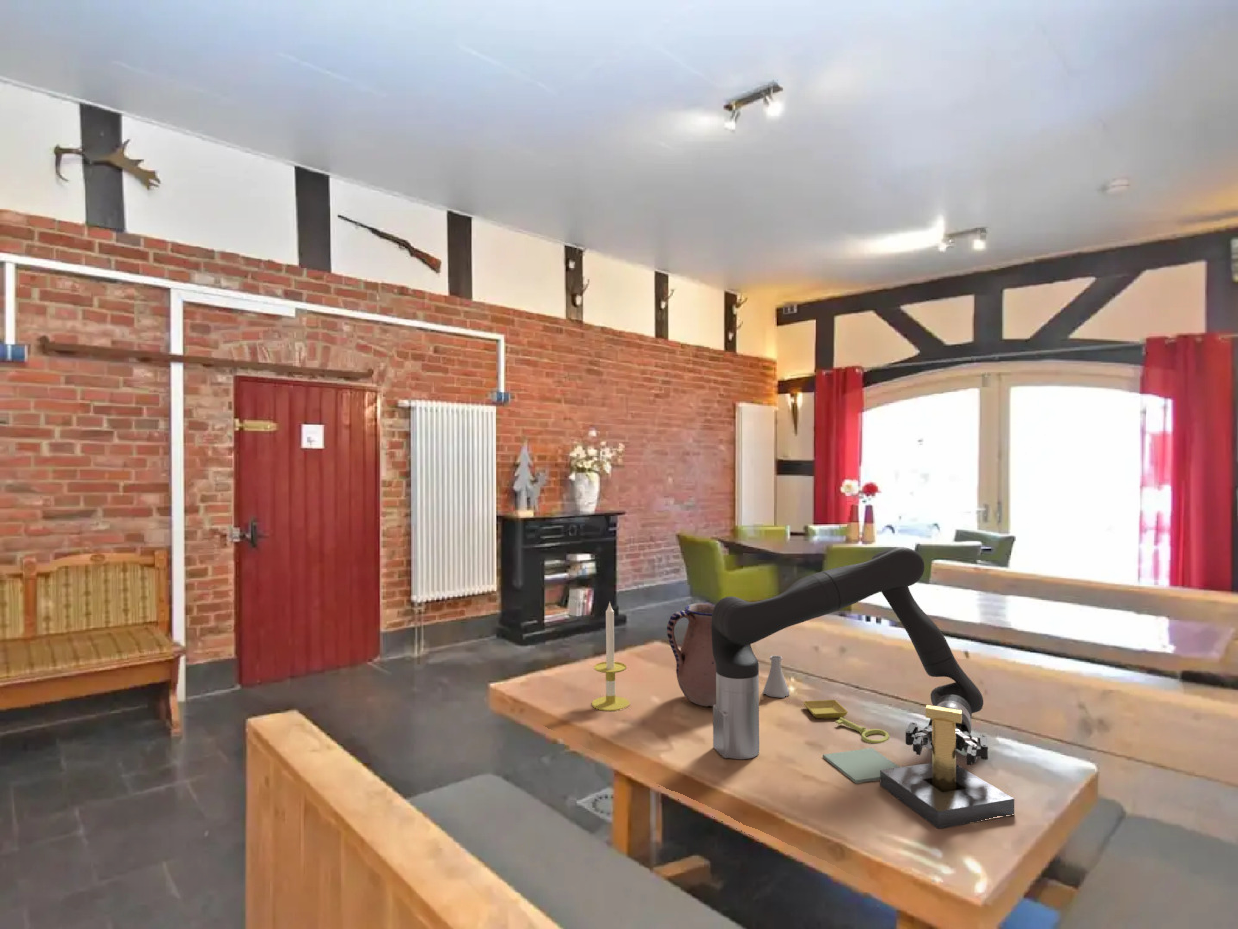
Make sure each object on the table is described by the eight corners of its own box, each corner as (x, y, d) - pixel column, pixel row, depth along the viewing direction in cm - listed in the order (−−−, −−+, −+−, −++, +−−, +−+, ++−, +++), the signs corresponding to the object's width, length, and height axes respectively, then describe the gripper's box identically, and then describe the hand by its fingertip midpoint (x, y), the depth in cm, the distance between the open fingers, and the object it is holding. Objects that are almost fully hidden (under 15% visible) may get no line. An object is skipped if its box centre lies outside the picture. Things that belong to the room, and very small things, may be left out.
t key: (925, 800, 126) (924, 709, 126) (927, 791, 130) (927, 703, 130) (961, 808, 123) (960, 715, 123) (962, 799, 127) (962, 708, 127)
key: (839, 725, 163) (839, 716, 163) (892, 737, 156) (892, 728, 156) (828, 734, 158) (828, 725, 158) (882, 748, 150) (882, 739, 150)
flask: (784, 700, 179) (784, 662, 179) (758, 695, 183) (758, 658, 183) (793, 692, 185) (793, 655, 185) (767, 687, 189) (767, 651, 189)
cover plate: (938, 829, 117) (938, 811, 117) (880, 785, 132) (880, 770, 132) (1014, 815, 121) (1014, 798, 121) (949, 775, 136) (949, 760, 136)
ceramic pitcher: (758, 704, 176) (757, 608, 176) (696, 722, 164) (695, 619, 164) (712, 685, 191) (711, 597, 190) (652, 701, 179) (651, 607, 179)
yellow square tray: (813, 722, 165) (813, 713, 165) (802, 709, 174) (802, 700, 174) (848, 720, 166) (848, 712, 166) (835, 707, 174) (835, 699, 174)
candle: (626, 712, 172) (625, 606, 171) (587, 710, 173) (586, 604, 173) (632, 698, 181) (631, 597, 181) (596, 696, 183) (595, 596, 183)
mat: (856, 783, 133) (856, 780, 133) (822, 757, 145) (822, 754, 145) (908, 775, 136) (908, 772, 136) (871, 750, 148) (871, 748, 148)
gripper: (912, 700, 143) (901, 727, 129) (989, 712, 136) (987, 742, 122) (912, 735, 143) (901, 766, 129) (989, 750, 136) (987, 784, 122)
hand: (943, 754), depth 125 cm, fingers open, 8 cm apart
